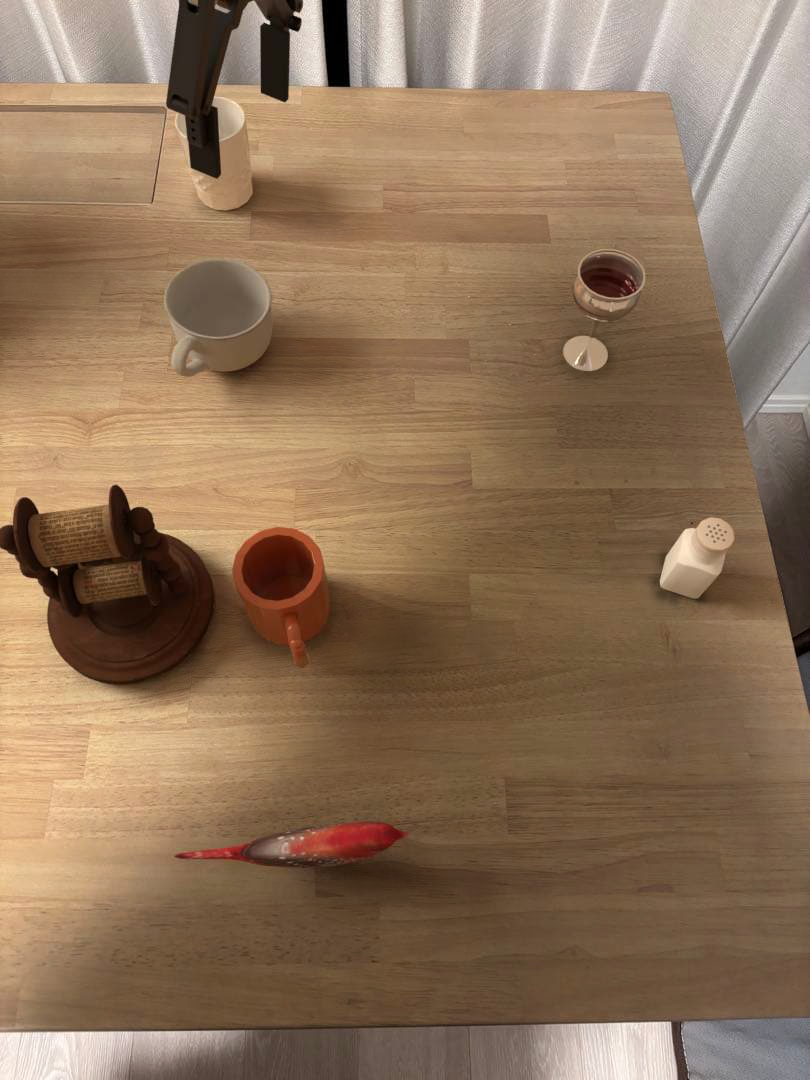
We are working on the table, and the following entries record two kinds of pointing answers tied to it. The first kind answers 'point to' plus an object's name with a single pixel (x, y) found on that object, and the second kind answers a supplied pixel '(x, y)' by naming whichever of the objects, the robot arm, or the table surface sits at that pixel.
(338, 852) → the decorative bird figurine
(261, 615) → the mug
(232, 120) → the white cup
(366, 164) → the table surface
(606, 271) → the wineglass
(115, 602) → the scroll
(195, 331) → the teacup
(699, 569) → the salt shaker
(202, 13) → the robot arm
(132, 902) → the table surface
